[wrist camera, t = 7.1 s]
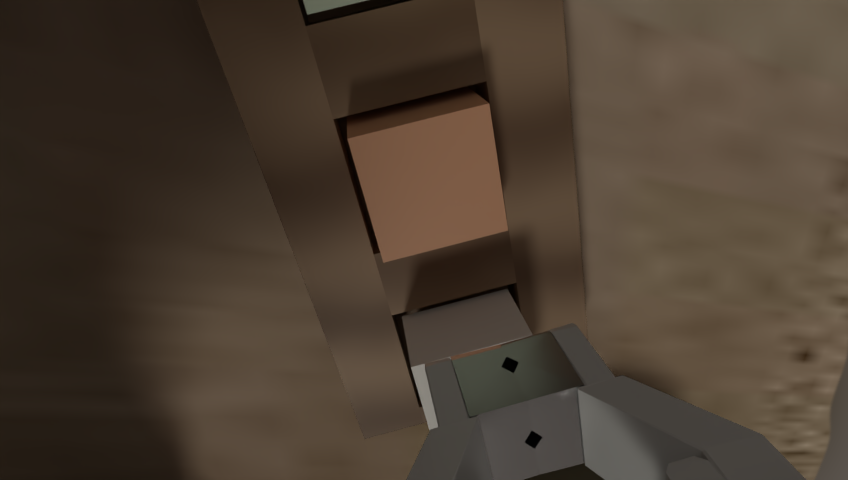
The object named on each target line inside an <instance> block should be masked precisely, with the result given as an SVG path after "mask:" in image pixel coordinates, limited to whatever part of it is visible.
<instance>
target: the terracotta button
mask: <svg viewBox="0 0 848 480" xmlns="http://www.w3.org/2000/svg"><path fill="white" fill-rule="evenodd" d="M347 140H348V143H349V146H350V150H351V153H352V157H353V160H354V164H355V167H356V171H357V174H358V177H359V181H360V184H361V188H362V191H363V195H364V198H365V201H366V205H367V208H368V212H369V215H370V219H371V222H372V226H373V229H374V232H375V236H376V239H377V243H378V246H379V250H380V253H381V257H382V260H383V263H385V262H389V261H392V260H396V259H400V258H404V257H408V256H412V255H416V254H419V253H423V252H427V251H431V250H435V249H439V248H443V247H447V246H450V245H454V244H458V243H462V242H466V241H470V240H474V239H477V238H481V237H485V236H489V235H493V234H497V233H501V232H504V231H508V226H507V219H506V212H505V206H504V199H503V192H502V185H501V179H500V172H499V165H498V159H497V152H496V145H495V139H494V132H493V125H492V119H491V112H490V105H489V103H488V102H487V101H486V100H484V99H483V98H482V97H480V96H479V95H478V94H476V93H475V92H474V91H473V90H471V89H470V88H469V87H467V86H466V87H462V88H458V89H454V90H450V91H445V92H441V93H437V94H433V95H429V96H425V97H421V98H417V99H413V100H409V101H405V102H401V103H397V104H393V105H389V106H385V107H381V108H377V109H373V110H369V111H365V112H361V113H357V114H353V115H349V116H347Z"/></svg>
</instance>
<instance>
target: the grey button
mask: <svg viewBox="0 0 848 480" xmlns="http://www.w3.org/2000/svg"><path fill="white" fill-rule="evenodd" d="M402 320H403V326H404V332H405V337H406V343H407V348H408V354H409V359H410V365H411V369H412V372H413V376H414V379H415V383H416V386H417V389H418V393H419V396H420V400H421V403H422V406H423V410H424V413H425V417H426V420H427V423H428V427H429V430H431V429H433V428H437V427H438V424H437V419H436V415H435V411H434V406H433V402H432V398H431V393H430V389H429V385H428V380H427V376H426V372H425V363H429V362H433V361H437V360H441V359H445V358H450V357H451V356H455V355H459V354H463V353H467V352H471V351H475V350H479V349H483V348H487V347H491V346H495V345H499V344H503V343H506V342H510V341H514V340H517V339H521V338H524V337H528V336H531V335H533V334H532V332H531V331H530V329H529V327H528V325H527V323H526V322H525V320H524V318H523V316H522V314H521V313H520V311H519V309H518V307H517V305H516V303H515V302H514V300H513V298H512V296H511V294H510V293H509V291H508V289H504V290H500V291H496V292H493V293H489V294H485V295H481V296H477V297H474V298H470V299H466V300H462V301H458V302H455V303H451V304H447V305H443V306H439V307H436V308H432V309H428V310H424V311H420V312H416V313H413V314H409V315H405V316H402ZM450 359H451V358H450Z"/></svg>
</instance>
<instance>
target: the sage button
mask: <svg viewBox="0 0 848 480" xmlns="http://www.w3.org/2000/svg"><path fill="white" fill-rule="evenodd" d="M303 1H304V5H305V8H306V12H307V15H308V14H313V13H317V12H321V11H325V10H329V9H333V8H337V7H342V6H346V5H350V4H354V3H358V2H362V1H366V0H303Z"/></svg>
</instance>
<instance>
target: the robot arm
mask: <svg viewBox="0 0 848 480" xmlns="http://www.w3.org/2000/svg"><path fill="white" fill-rule="evenodd" d="M450 358H451V359H450ZM450 358H445V359H441V360H437V361H433V362H429V363H425V372H426V376H427V380H428V385H429V389H430V393H431V398H432V402H433V406H434V411H435V415H436V419H437V424H438V427H437V428H433V429H431V430H430V432H429V434H428V436H427V438H426V440H425V442H424V444H423V446H422V448H421V450H420V452H419V454H418V456H417V459H416V461H415V463H414V465H413V467H412V469H411V471H410V473H409V475H408V477H407V479H406V480H524V479H527V478H530V477H533V476H537V475H540V474H544V473H548V472H552V471H556V470H560V469H563V468H567V467H571V466H575V465H579V464H583V463H585V466H587V467H588V468H590V469H591V470H592V471H594V472H595V473H596V474H598V475H599V476H600V477H602V478H603V479H605V480H806V479H805V478H804V477H803V476H802V475H801V474H800V473H799V472H798V471H797V470H796V469H795V468H794V467H793V466H792V465H791V464H790V463H789V462H788V461H787V460H786V459H785V457H784V456H783V455H782V454H781V453H780V452H779V451H778V450H777V449H776V448H775V447H774V446H773V445H772V444H771V443H770V442H769V441H768V440H767V439H766V438H765V437H764V436H763V435H762V434H760V433H757V432H755V431H753V430H750V429H748V428H746V427H743V426H741V425H739V424H736V423H734V422H732V421H729V420H727V419H725V418H722V417H720V416H718V415H715V414H713V413H710V412H708V411H706V410H703V409H701V408H699V407H696V406H694V405H692V404H689V403H687V402H685V401H682V400H680V399H678V398H675V397H673V396H671V395H668V394H666V393H664V392H661V391H659V390H656V389H654V388H652V387H649V386H647V385H645V384H642V383H640V382H638V381H635V380H633V379H631V378H628V377H626V376H624V375H622V376H618V377H615V376H614V375H613V373H612V372H611V371H610V369H609V368H608V367H607V365H606V364H605V363H604V361H603V360H602V359H601V357H600V356H599V355H598V353H597V352H596V351H595V349H594V348H593V347H592V345H591V344H590V342H589V341H588V340H587V338H586V337H585V336H584V334H583V333H582V332H581V330H580V329H579V328H578V326H577V325H575V324H573V323H570V324H567V325H564V326H560V327H557V328H554V329H550V330H548V331H545V332H542V333H538V334H535V335H531V336H528V337H524V338H521V339H517V340H514V341H510V342H506V343H503V344H499V345H495V346H491V347H487V348H483V349H479V350H475V351H471V352H467V353H463V354H459V355H455V356H451V357H450Z"/></svg>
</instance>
